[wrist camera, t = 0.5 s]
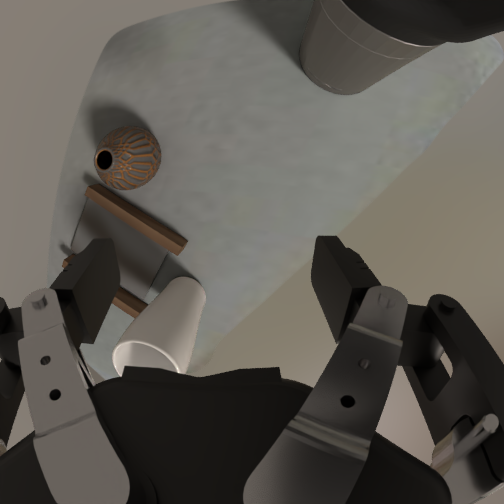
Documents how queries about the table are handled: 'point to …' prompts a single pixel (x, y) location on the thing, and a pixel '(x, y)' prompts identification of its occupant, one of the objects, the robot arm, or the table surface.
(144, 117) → the table surface
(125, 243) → the cradle
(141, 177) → the vase
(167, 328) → the white cup
